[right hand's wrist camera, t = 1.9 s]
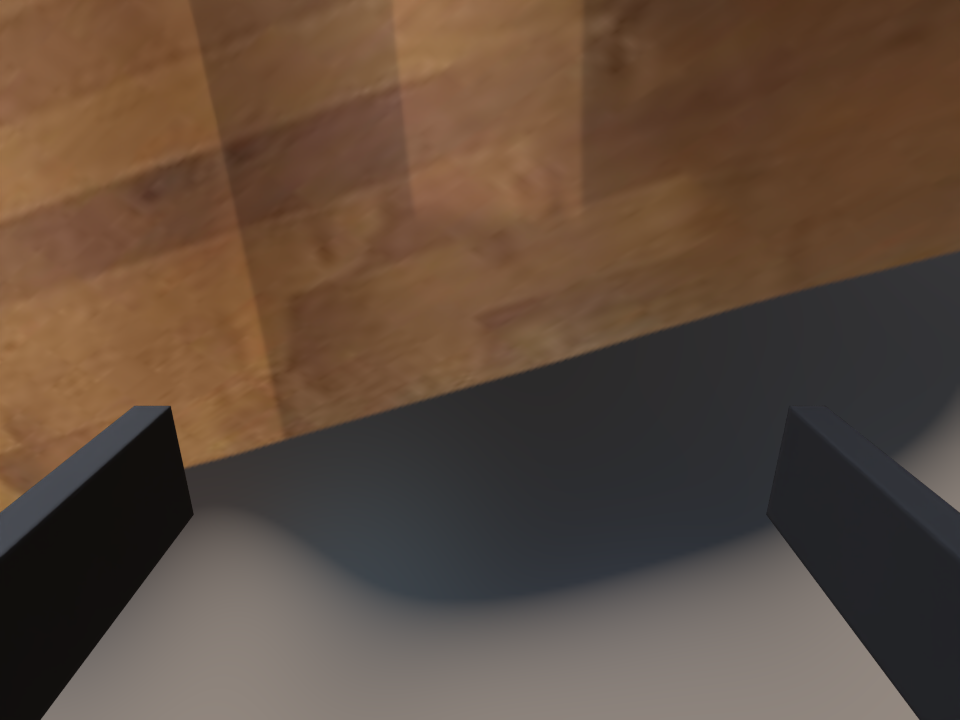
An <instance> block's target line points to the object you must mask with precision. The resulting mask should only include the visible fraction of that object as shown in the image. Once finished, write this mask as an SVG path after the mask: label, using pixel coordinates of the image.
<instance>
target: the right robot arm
mask: <svg viewBox="0 0 960 720" xmlns="http://www.w3.org/2000/svg"><path fill="white" fill-rule="evenodd" d="M192 516H193V509H192V504H191V500H190V495H189V490H188V486H187V481H186V476H185V472H184V467H183V462H182V457H181V453H180V448H179V443H178V439H177V434H176V429H175V424H174V420H173V415H172V410H171V406H134V407H133V408H131V409H130V410H129V411H127V412H126V413H125V414H124V415H122V416H121V417H120V418H119V419H117V420H116V421H115V422H114V423H112V424H111V425H110V426H109V427H107V428H106V429H105V430H104V431H102V432H101V433H100V434H99V435H97V436H96V437H95V438H94V439H92V440H91V441H90V442H89V443H87V444H86V445H85V446H84V447H82V448H81V449H80V450H78V451H77V452H76V453H75V454H73V455H72V456H71V457H70V458H68V459H67V460H66V461H65V462H63V463H62V464H61V465H60V466H58V467H57V468H56V469H55V470H53V471H52V472H51V473H50V474H48V475H47V476H46V477H45V478H43V479H42V480H41V481H40V482H38V483H37V484H36V485H34V486H33V487H32V488H31V489H29V490H28V491H27V492H26V493H24V494H23V495H22V496H21V497H19V498H18V499H17V500H16V501H14V502H13V503H12V504H11V505H9V506H8V507H7V508H6V509H4V510H3V511H2V512H1V513H0V720H41V718H42V717H43V716H44V714H45V713H46V712H47V710H48V709H49V708H50V706H51V705H52V704H53V702H54V701H55V700H56V698H57V697H58V696H59V694H60V693H61V692H62V690H63V689H64V688H65V686H66V685H67V684H68V682H69V681H70V680H71V678H72V677H73V676H74V674H75V673H76V672H77V670H78V669H79V668H80V666H81V665H82V663H83V662H84V661H85V659H86V658H87V657H88V655H89V654H90V653H91V651H92V650H93V649H94V647H95V646H96V645H97V643H98V642H99V641H100V639H101V638H102V637H103V635H104V634H105V633H106V631H107V630H108V629H109V627H110V626H111V625H112V623H113V622H114V621H115V619H116V618H117V617H118V615H119V614H120V613H121V611H122V610H123V609H124V607H125V606H126V605H127V603H128V602H129V600H130V599H131V598H132V597H133V595H134V594H135V592H136V591H137V590H138V588H139V587H140V586H141V584H142V583H143V582H144V580H145V579H146V578H147V576H148V575H149V574H150V572H151V571H152V570H153V568H154V567H155V566H156V564H157V563H158V562H159V560H160V559H161V558H162V556H163V555H164V554H165V552H166V551H167V550H168V548H169V547H170V546H171V544H172V543H173V542H174V540H175V539H176V538H177V536H178V535H179V534H180V532H181V531H182V530H183V528H184V527H185V525H186V524H187V523H188V521H189V520H190V519H191V517H192ZM767 516H768V517H769V519H770V520H771V521H772V523H773V524H774V526H775V527H776V528H777V530H778V531H779V532H780V534H781V535H782V536H783V538H784V539H785V540H786V542H787V543H788V544H789V546H790V547H791V548H792V550H793V551H794V552H795V554H796V555H797V556H798V558H799V559H800V560H801V562H802V563H803V564H804V566H805V567H806V568H807V570H808V571H809V572H810V574H811V575H812V576H813V578H814V579H815V580H816V582H817V583H818V584H819V586H820V587H821V588H822V590H823V591H824V592H825V594H826V595H827V597H828V598H829V599H830V600H831V602H832V603H833V605H834V606H835V607H836V609H837V610H838V611H839V613H840V614H841V615H842V617H843V618H844V619H845V621H846V622H847V623H848V625H849V626H850V627H851V628H852V630H853V631H854V633H855V634H856V635H857V637H858V638H859V639H860V641H861V642H862V643H863V645H864V646H865V647H866V649H867V650H868V651H869V653H870V654H871V655H872V657H873V658H874V659H875V661H876V662H877V663H878V665H879V666H880V667H881V669H882V670H883V672H884V673H885V674H886V676H887V677H888V678H889V680H890V681H891V682H892V684H893V685H894V686H895V688H896V689H897V690H898V692H899V693H900V694H901V696H902V697H903V698H904V700H905V701H906V702H907V704H908V705H909V706H910V708H911V709H912V710H913V712H914V713H915V714H916V716H917V717H918V718H919V720H960V513H959V512H958V511H957V510H956V509H954V508H953V507H952V506H951V505H949V504H948V503H947V502H945V501H944V500H943V499H942V498H941V497H939V496H938V495H937V494H936V493H934V492H933V491H932V490H930V489H929V488H928V487H927V486H926V485H924V484H923V483H922V482H920V481H919V480H918V479H917V478H915V477H914V476H913V475H912V474H910V473H909V472H908V471H907V470H905V469H904V468H903V467H902V466H900V465H899V464H898V463H897V462H895V461H894V460H893V459H892V458H890V457H889V456H888V455H887V454H885V453H884V452H883V451H882V450H880V449H879V448H878V447H876V446H875V445H874V444H873V443H871V442H870V441H869V440H868V439H866V438H865V437H864V436H863V435H861V434H860V433H859V432H858V431H856V430H855V429H854V428H853V427H851V426H850V425H849V424H848V423H846V422H845V421H844V420H843V419H841V418H840V417H839V416H838V415H836V414H835V413H834V412H832V411H831V410H830V409H829V408H827V407H826V406H789V410H788V415H787V420H786V424H785V429H784V434H783V439H782V443H781V448H780V453H779V458H778V462H777V467H776V472H775V476H774V481H773V486H772V491H771V495H770V500H769V505H768V509H767Z"/></svg>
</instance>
